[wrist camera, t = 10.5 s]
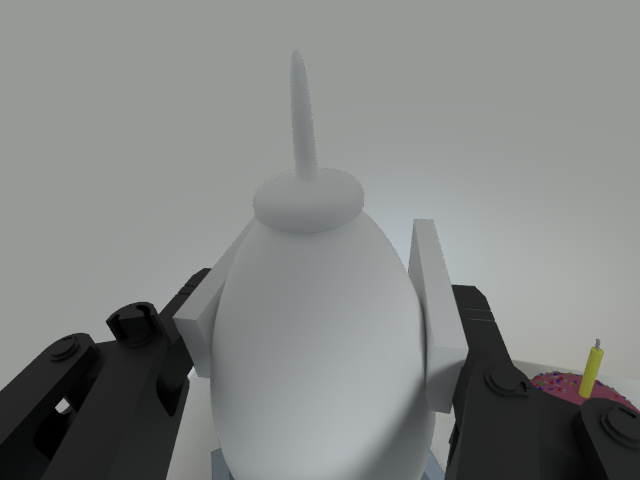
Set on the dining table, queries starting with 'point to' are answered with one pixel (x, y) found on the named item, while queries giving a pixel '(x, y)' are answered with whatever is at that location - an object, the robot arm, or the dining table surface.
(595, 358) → the cupcake
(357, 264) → the sauce bottle
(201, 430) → the dining table surface
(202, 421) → the dining table surface
